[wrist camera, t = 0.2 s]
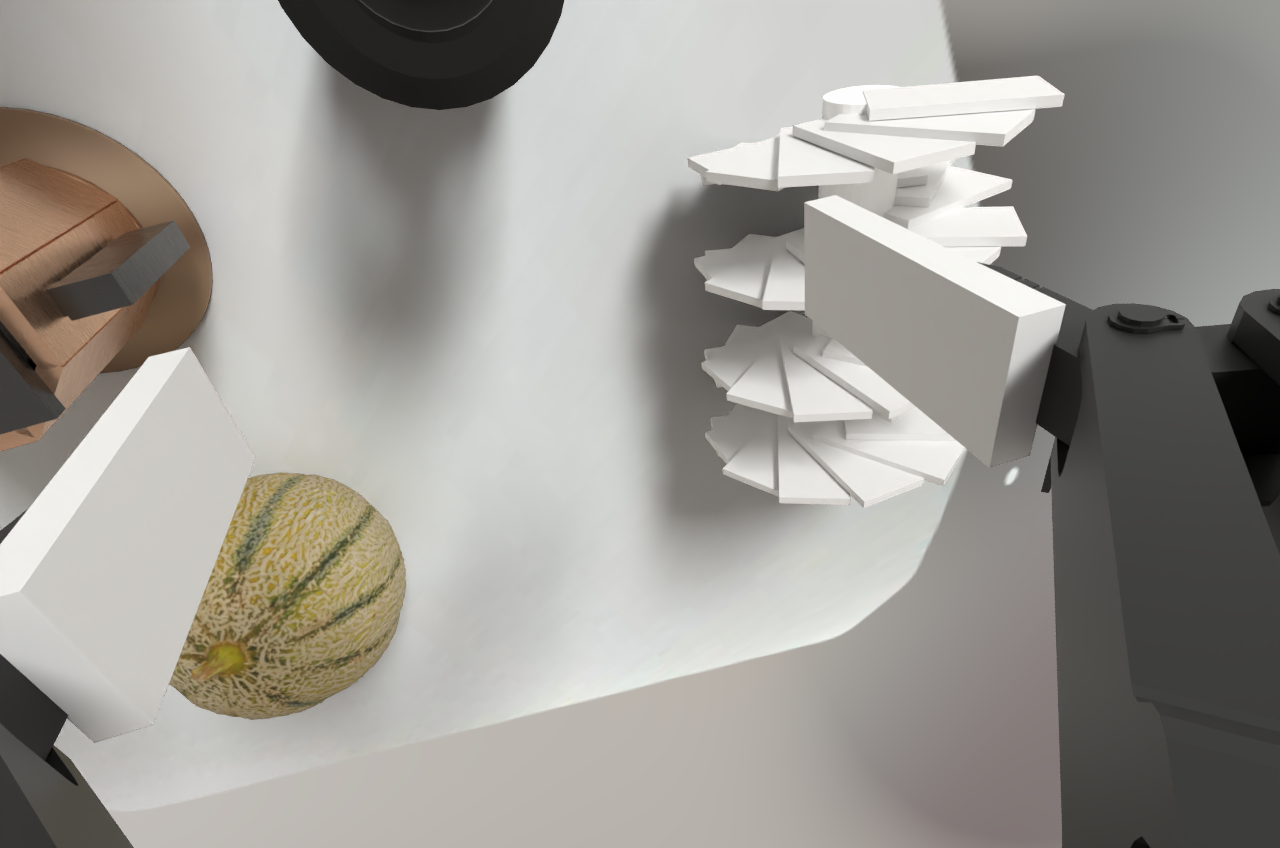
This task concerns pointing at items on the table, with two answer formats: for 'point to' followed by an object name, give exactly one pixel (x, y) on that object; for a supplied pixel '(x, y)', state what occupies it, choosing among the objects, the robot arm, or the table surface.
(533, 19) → the french press
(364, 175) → the table surface
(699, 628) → the table surface
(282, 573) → the cantaloupe
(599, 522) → the table surface
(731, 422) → the spiral staircase
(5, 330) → the plunger
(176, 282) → the coaster
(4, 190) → the carafe
